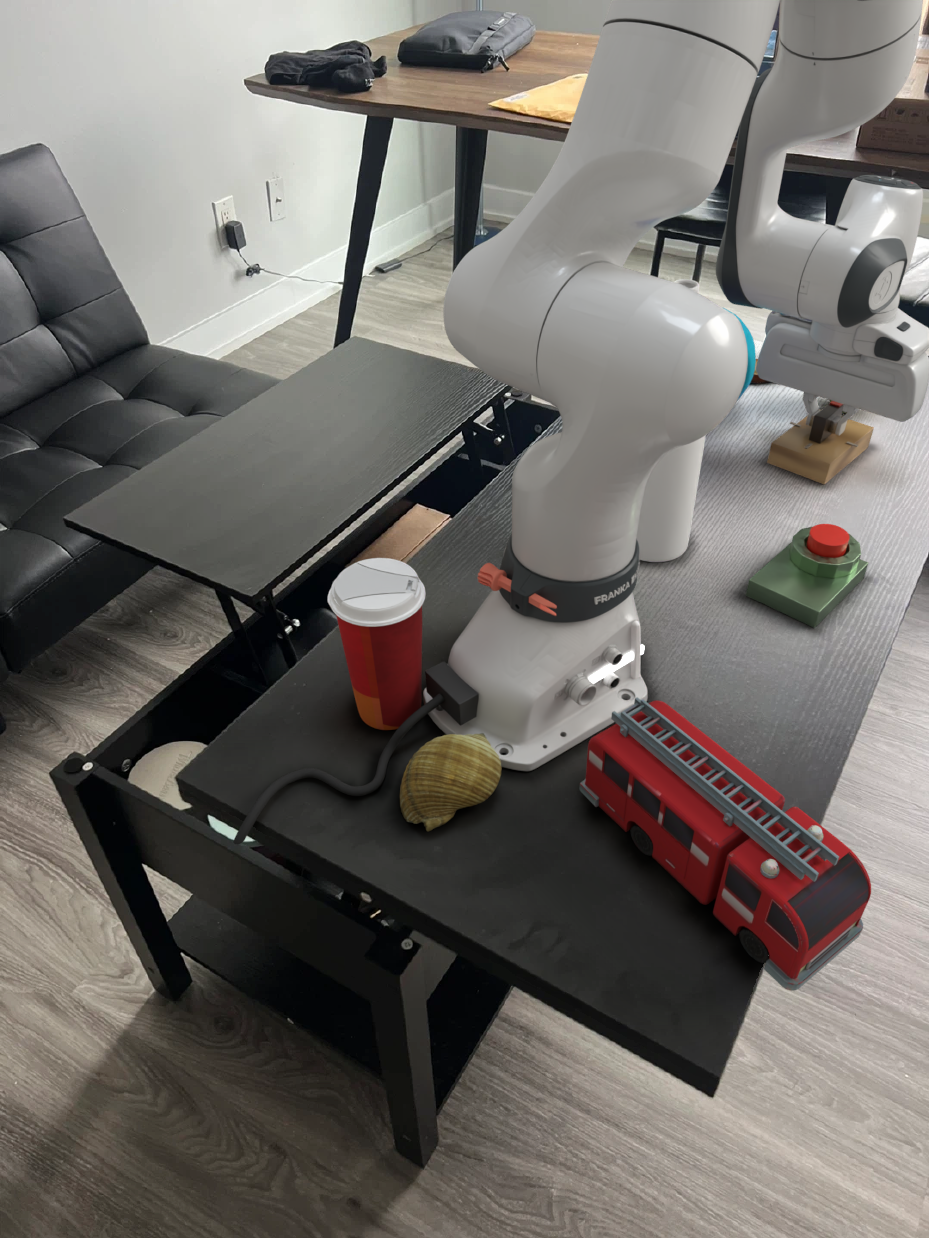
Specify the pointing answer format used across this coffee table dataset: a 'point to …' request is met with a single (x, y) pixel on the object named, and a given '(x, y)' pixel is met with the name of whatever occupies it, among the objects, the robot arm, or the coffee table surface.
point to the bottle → (670, 497)
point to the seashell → (448, 778)
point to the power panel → (818, 450)
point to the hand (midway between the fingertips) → (824, 428)
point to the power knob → (824, 421)
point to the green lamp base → (807, 580)
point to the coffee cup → (381, 637)
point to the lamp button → (827, 540)
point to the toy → (729, 840)
